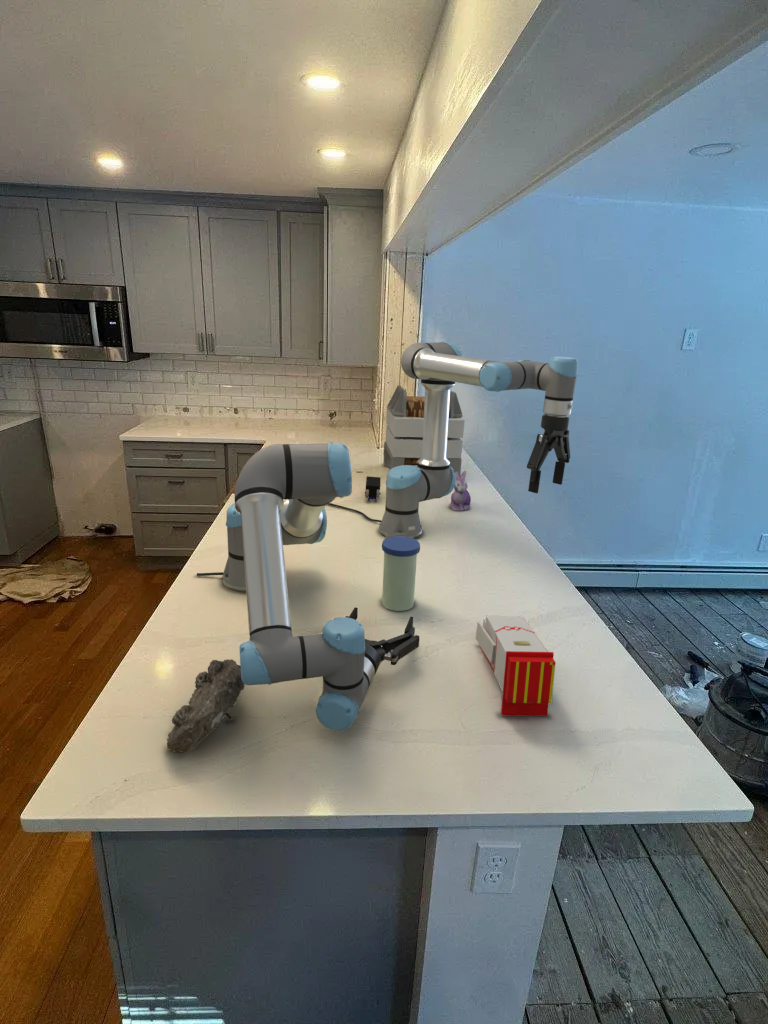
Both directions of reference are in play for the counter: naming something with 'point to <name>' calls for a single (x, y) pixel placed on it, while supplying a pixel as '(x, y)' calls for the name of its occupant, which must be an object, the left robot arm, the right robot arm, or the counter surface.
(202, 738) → the fossil
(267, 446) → the left robot arm
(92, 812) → the counter surface
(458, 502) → the figurine
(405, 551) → the lid
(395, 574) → the jar
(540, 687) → the toy
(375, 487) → the figurine character
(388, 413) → the grey boxy piece
